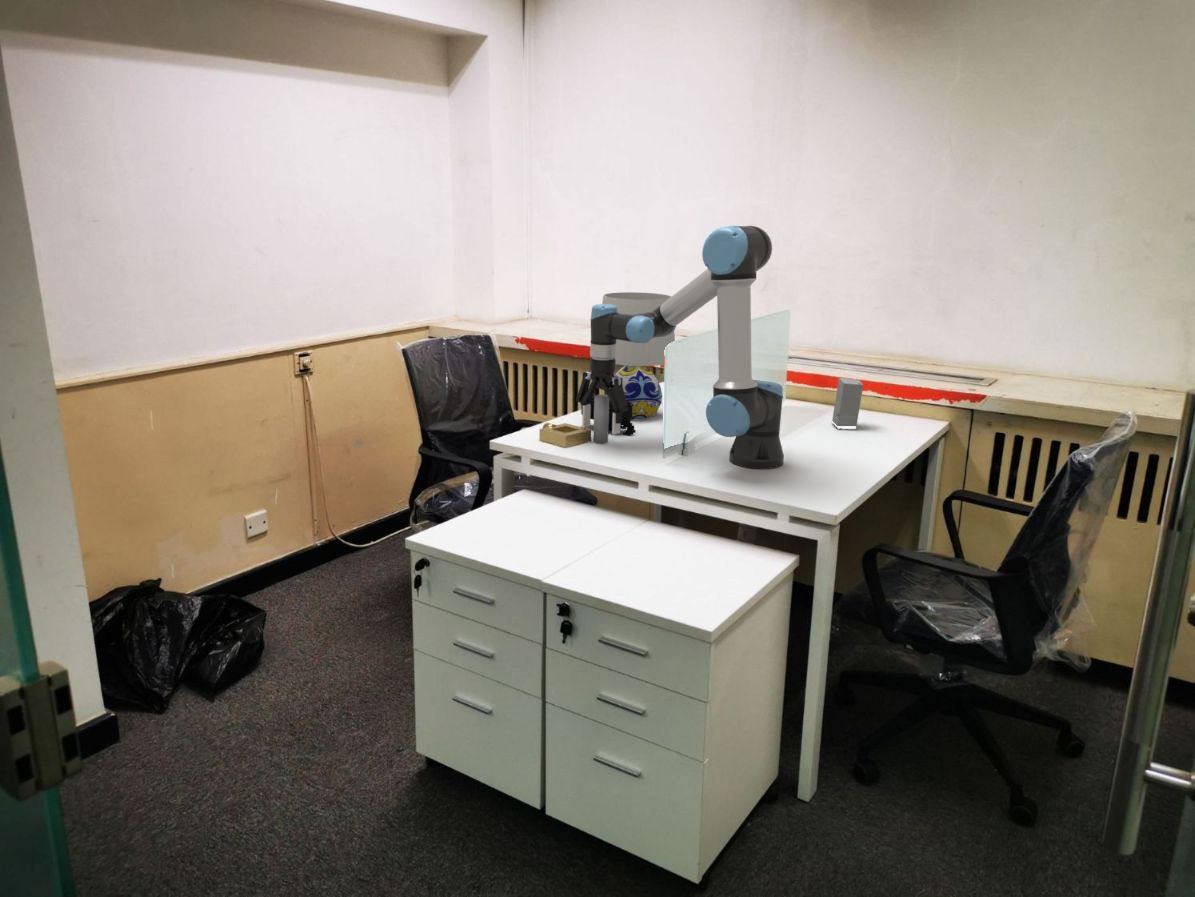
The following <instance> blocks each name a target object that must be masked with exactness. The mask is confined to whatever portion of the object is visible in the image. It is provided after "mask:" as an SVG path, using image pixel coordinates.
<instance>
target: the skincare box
mask: <svg viewBox="0 0 1195 897" xmlns="http://www.w3.org/2000/svg"><path fill="white" fill-rule="evenodd" d="M863 388H864V384H863V383H862V381H861V380H859V379H858V378H850V377H838V383H837V388H836V395H835V400H834V406H833V412H832V413H833V414H832V417H831V422H832V421H833V422H834V423H835V424H836V425H837V426H856V427H857V426H858V420H859V413H860V407H861V401H862V395H863V390H864V389H863Z"/></svg>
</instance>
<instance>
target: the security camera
mask: <svg viewBox="0 0 1195 897" xmlns="http://www.w3.org/2000/svg"><path fill="white" fill-rule="evenodd" d="M595 395H596V394H594V395H593V397H592V398H591V400H590V401H589V404H590V405H591V412H590V420H593V421H594V396H595ZM626 402H627V406H628V411H624V412H623V413H622V423H620V430H621V429H622V430H624V431H623V432H622V435H623V436H628V437H631V436H633V435H634V434H635V433H636V431H637V430H636V429H635V425H633V422H631V421H632V419H631V418H632V407H633V406H632V405H631V404H630V402H629V401H626ZM587 405H588V404H587ZM618 409H619V408H618ZM613 412H615V410H614V408H613V406H612V404H611V401H610V399H609V423H608V433H612V420H613Z"/></svg>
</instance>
